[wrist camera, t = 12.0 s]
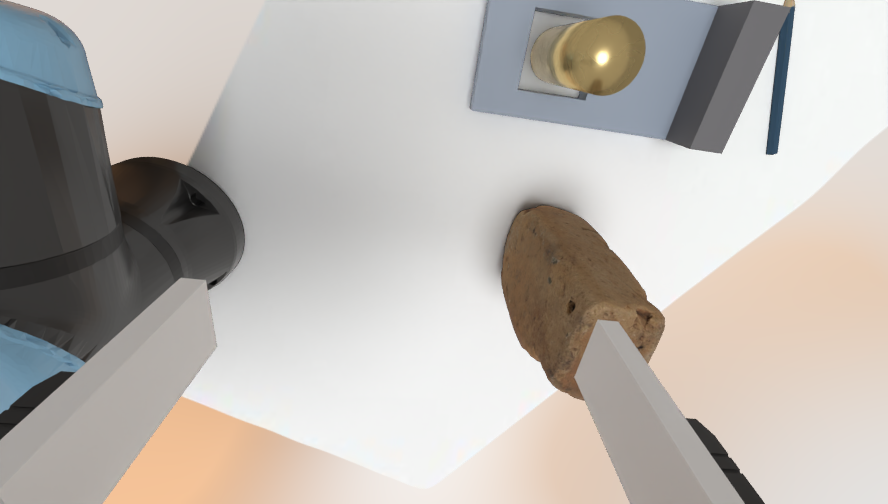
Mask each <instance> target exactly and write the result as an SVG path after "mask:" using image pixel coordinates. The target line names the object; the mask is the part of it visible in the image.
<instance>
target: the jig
mask: <svg viewBox="0 0 888 504" xmlns="http://www.w3.org/2000/svg"><path fill="white" fill-rule="evenodd" d="M790 9H791V7H786V6H781V5H776V4H771V3H765V2H760V1H755V0H754V1H748V2H742V3H735V4H729V5H723V6H715V5H710V4H704V3H699V2H694V1H688V0H488V1H487V7H486V13H485V20H484V26H483V32H482V38H481V44H480V50H479V56H478V62H477V68H476V74H475V80H474V86H473V92H472V98H471V104H470V109H471V110H472V111H478V112H485V113H492V114H498V115H505V116H512V117H518V118H525V119H532V120H538V121H545V122H551V123H558V124H565V125H571V126H578V127H585V128H591V129H598V130H605V131H611V132H618V133H625V134H631V135H638V136H644V137H651V138H658V139H664V140H668V141H670V142H673V143H676V144H678V145H681V146H684V147H686V148H689V149H694V150H701V151H708V152H714V153H721V154H722V152H723V150H724V148H725V146H726V143H727V141H728V139H729V137H730V135H731V133H732V131H733V129H734V127H735V125H736V122H737V120H738V118H739V116H740V114H741V112H742V110H743V108H744V106H745V103H746V101H747V99H748V97H749V95H750V93H751V91H752V89H753V87H754V84H755V82H756V80H757V78H758V76H759V74H760V72H761V70H762V68H763V66H764V63H765V61H766V59H767V57H768V55H769V53H770V51H771V49H772V47H773V44H774V42H775V40H776V38H777V36H778V34H779V32H780V30H781V28H782V25H783V23H784V21H785V19H786V17H787V15H788V13H789V11H790ZM535 10H536V11H542V12H547V13H553V14H559V15H564V16H570V17H576V18H581V19H587V20H592V19H597V18H602V17H607V16H612V15H621V16H625V17H628V18H630V19H632V20H633V21H635V22H636V23H637V24H638V26H639V27H640V28H641V30H642V32H643V35H644V38H645V44H646V51H645V58H644V61H643V64H642V67H641V69H640V71H639V73H638V74H637V76H636V77H635V79H634V80H633V81H632V82H631V83H630V84H629V85H628V86H627V87H625V88H624V89H623V90H621V91H619V92H617V93H615V94H612V95H607V96H597V95H593V94H589V93H585V92H582V91H580V94H579V97H578V98H573V97H566V96H560V95H553V94H547V93H541V92H534V91H528V90H522V89H518V86H519V82H520V77H521V72H522V68H523V63H524V59H525V54H526V49H527V45H528V40H529V35H530V31H531V26H532V21H533V17H534V12H535Z"/></svg>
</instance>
